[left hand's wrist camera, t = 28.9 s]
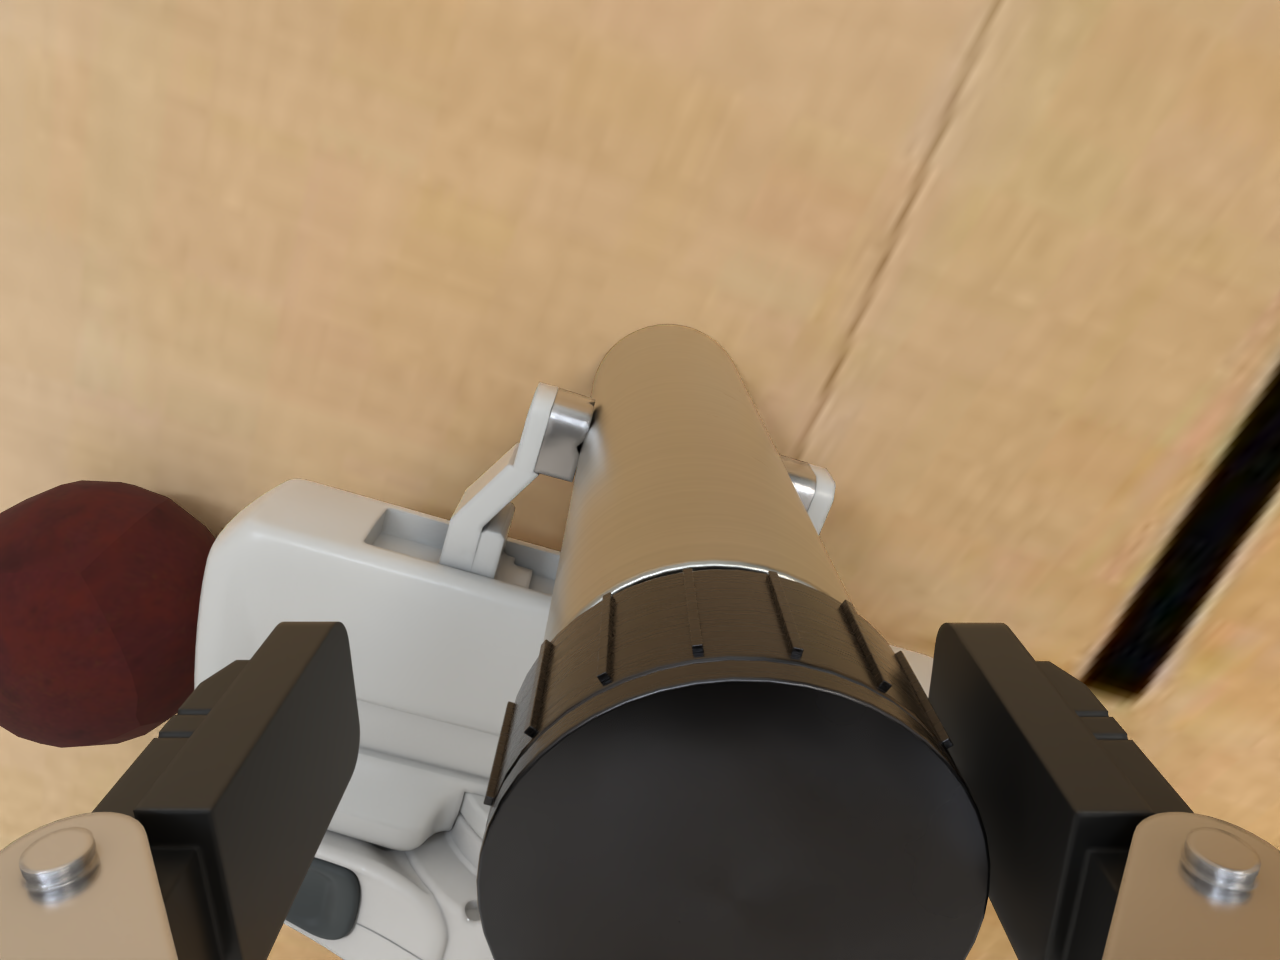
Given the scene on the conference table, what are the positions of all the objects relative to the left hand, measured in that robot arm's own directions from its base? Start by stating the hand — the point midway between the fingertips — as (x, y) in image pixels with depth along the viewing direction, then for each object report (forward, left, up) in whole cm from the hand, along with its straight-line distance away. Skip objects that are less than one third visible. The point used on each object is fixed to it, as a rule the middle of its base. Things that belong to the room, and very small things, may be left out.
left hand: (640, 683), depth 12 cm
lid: (-1, +1, +3) cm, 3 cm away
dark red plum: (+16, +5, -17) cm, 24 cm away
